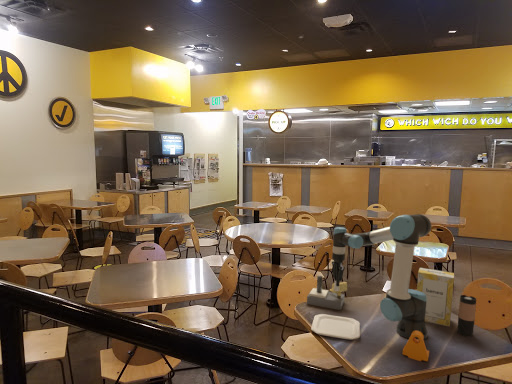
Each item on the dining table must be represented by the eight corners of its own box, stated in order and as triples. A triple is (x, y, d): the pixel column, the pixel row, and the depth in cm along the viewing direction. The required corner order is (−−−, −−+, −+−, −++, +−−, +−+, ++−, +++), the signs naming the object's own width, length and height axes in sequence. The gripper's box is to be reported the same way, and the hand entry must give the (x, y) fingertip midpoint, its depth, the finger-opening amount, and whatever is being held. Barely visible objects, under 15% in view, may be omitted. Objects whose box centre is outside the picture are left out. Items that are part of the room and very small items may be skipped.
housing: (340, 310, 222) (341, 302, 222) (306, 304, 229) (307, 296, 229) (343, 302, 235) (344, 294, 235) (311, 296, 242) (312, 289, 242)
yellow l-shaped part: (334, 299, 225) (334, 285, 225) (323, 293, 234) (324, 280, 233) (346, 296, 230) (347, 283, 229) (336, 291, 239) (336, 278, 238)
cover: (325, 298, 226) (326, 280, 225) (309, 295, 230) (310, 277, 229) (328, 292, 237) (329, 275, 236) (313, 290, 240) (314, 272, 239)
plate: (359, 323, 206) (359, 319, 206) (359, 344, 182) (360, 339, 182) (315, 316, 213) (315, 312, 212) (309, 335, 189) (310, 331, 189)
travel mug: (464, 337, 193) (468, 300, 191) (453, 330, 200) (456, 295, 198) (476, 336, 195) (480, 299, 193) (464, 329, 202) (468, 294, 201)
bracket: (428, 356, 173) (431, 331, 172) (427, 363, 167) (429, 337, 166) (404, 349, 178) (406, 325, 177) (402, 356, 172) (404, 331, 171)
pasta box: (414, 318, 214) (418, 272, 211) (416, 312, 223) (419, 267, 220) (449, 326, 205) (454, 277, 203) (449, 319, 215) (454, 273, 212)
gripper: (349, 255, 217) (347, 294, 219) (339, 250, 229) (337, 286, 232) (337, 255, 215) (335, 294, 217) (328, 250, 228) (326, 287, 230)
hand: (336, 290), depth 225 cm, fingers closed
